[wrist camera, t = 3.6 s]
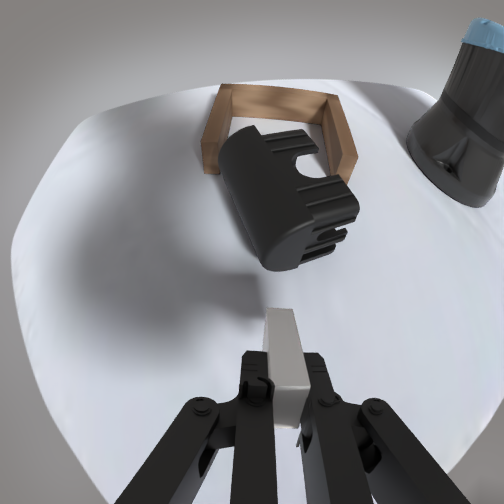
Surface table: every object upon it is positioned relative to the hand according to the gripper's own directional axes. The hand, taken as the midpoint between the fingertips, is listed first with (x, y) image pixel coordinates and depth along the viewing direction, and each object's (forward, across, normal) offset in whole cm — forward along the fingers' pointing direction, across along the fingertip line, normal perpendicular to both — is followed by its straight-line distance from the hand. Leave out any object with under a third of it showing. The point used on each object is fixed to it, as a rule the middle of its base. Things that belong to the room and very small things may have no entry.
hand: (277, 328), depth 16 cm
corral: (+17, 0, +13) cm, 21 cm away
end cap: (+10, 0, +5) cm, 11 cm away
